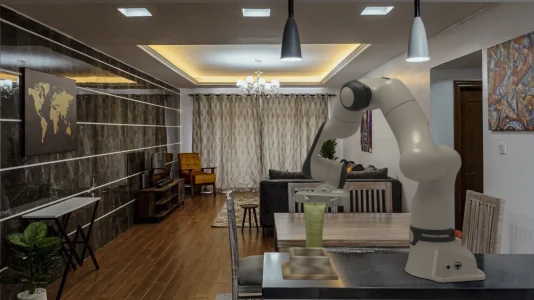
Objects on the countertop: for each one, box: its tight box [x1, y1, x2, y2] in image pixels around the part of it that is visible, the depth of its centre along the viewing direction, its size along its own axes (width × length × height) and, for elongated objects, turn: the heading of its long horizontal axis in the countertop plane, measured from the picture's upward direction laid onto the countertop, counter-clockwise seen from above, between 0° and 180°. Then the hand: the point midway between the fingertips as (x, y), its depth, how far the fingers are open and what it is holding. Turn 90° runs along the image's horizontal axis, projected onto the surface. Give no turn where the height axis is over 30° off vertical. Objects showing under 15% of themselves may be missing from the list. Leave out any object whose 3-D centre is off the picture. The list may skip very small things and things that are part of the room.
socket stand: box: [281, 246, 339, 281], centre depth 131 cm, size 16×14×6 cm
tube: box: [303, 203, 326, 248], centre depth 142 cm, size 6×5×20 cm
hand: (319, 201), depth 153 cm, fingers open, 8 cm apart
